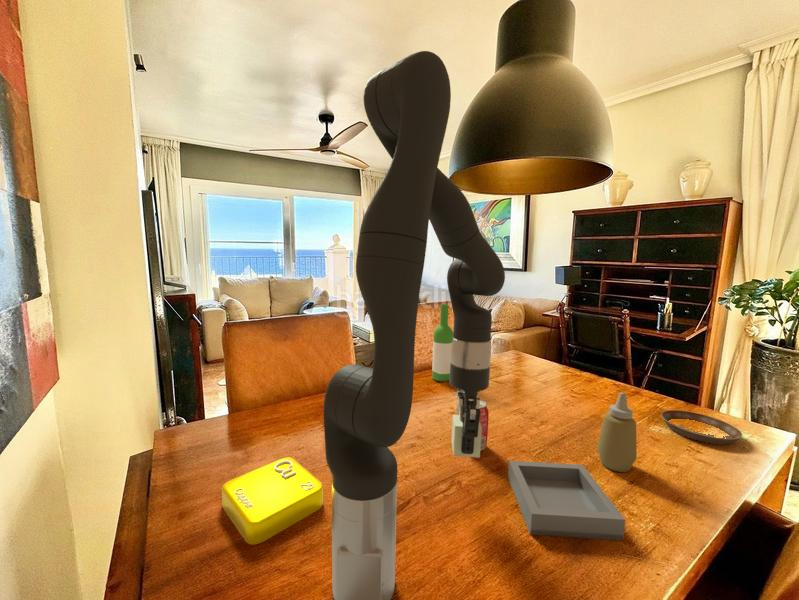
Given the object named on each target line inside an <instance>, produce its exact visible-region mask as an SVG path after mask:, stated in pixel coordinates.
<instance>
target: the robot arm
mask: <svg viewBox="0 0 799 600" xmlns="http://www.w3.org/2000/svg"><path fill="white" fill-rule="evenodd" d="M450 81H451V80H450V76H449V73H448V70H447V67H446V65H445V64H444V62H443V60H442V58H441V57H440V56H439V55H438V54H436V53H434V52H432V51H428V50H421V51H420V50H419V51H418V52H414V53H411V54H408V55H406V56H404V57H403V58H401V59H400V60H398V61H396V62H395V63H393V64H391V65H389V66H387V67H385V68H384V69H382V70H380V71H378V72H377V73H375V74H374V75H372V76H371V77H370V78H369V79H368V80H367V82H366V84H365V87H364V90H363V108H364V111H365V114H366V116H367V120H368V121H369V124H370V126H371V128H372V130H373V131H374V133H375V135H376V137H377V138H378V140H379V141H380V143H381V144H382V146H383V147H384V149H385V150H386V152H387V154H388V155H389V156H390V158H391V159H392V160H391V163H390V165H389V167H388V169H387V170H386V171H387V172H386V173H385V175H384V177H383V179H382V181H381V182H380V184H379V186H378V188H377V189H376V191H375V192H374V195H373V196H372V199H371V201H370V202H369V204H368V206H367V209H366V211H365V213H364V215H363V218H362V220H361V225H360V230H359V237H358V243H357V244H358V245H357V250H356V251H357V253H356V257H355V258H356V260H355V275H356V280H357V281H356V282H357V284H358V287H359V292H360V294H361V296H362V299H363V302H364V305H365V308H366V311H367V313H368V317H369V319H370V322H371V326H372V331H373V340H374V342H373V343H374V350H373V351H374V352H373V354H374V355H373V366H372V367H368V366H365V365H361V364H355V363H351V364H347V365H344V366H342V367H340V369H338V370H337V371H336V372H335V373H334V375H333V376H332V377H331V379H330V380H329V382H328V384H327V386H326V391H325V394H324V401H323V428H324V429H323V431H324V448H325V449H324V450H325V461H326V463H327V466H328V469H329V471H330V473H331V495H332V496H331V536H332V537H331V558H332V559H331V566H332V567H331V569H332V572H331V576H332V577H331V578H332V581H331V586H332V589H331V591H332V592H331V593H332V596H333V597H332V598H333V600H391V599H392V598H393V596H394V593H395V585H396V583H395V582H396V547H397V546H396V545H397V542H396V541H397V540H396V539H397V501H398V461H397V458H396V456H395V454H394V453H393V452H392V450H391V449H390V448H389V447H392V446H394V445H395V444H396V443H397V442H398V441H399V440H400V439H401V437H402V436H403V434H404V433H405V430H406V428H407V426H408V423H409V421H410V420H409V419H410V416H411V412H412V405H413V395H414V379H415V378H414V372H415V344H416V342H415V341H416V331H417V330H416V329H417V328H416V327H417V320H418V319H417V318H418V309H419V301H420V293H421V286H422V280H423V274H424V266H425V260H426V259H425V258H426V252H427V243H428V232H429V224H431V227H432V228H433V231H434V233H435V235H436V237H437V239H438V242H439V244H440V247H441V248H442V250H443V252H444V254H446V255H447V256H448V257H450V258H453V259H454V260H453V261H452V262H451V264H449V267H448V270H447V274H446V284H447V290H448V294H449V298H450V299H449V300H450V304H451V309H452V313H453V329H452V331H453V342H452V347H451V361H450V380H449V381H448V382H449V385H451V386H452V387H453V388H454V389H455V388H456V389H457V391H456V400H457V402H456V411H457V413H458V414H457V415H459V419H460V421H461V422H462V430H461V433H462V445H461V451H462V453H463V454H473V450H474V437H477V436H478V427H479V419H480V414H481V411H480V409H479V406H480V399H481V398H480V397H479V395H478V394H479V392H482V391H485V390H487V389H488V388H489V387H490V377H491V376H490V375H491V360H492V359H491V358H492V348H491V347H492V346H491V339H492V322H493V321H492V317H493V316H492V313H491V311H490V310H489V309H486V308H484V307H482V306H480V305H478V304H477V302H476V301H475V298H474V297H475V296H482V297H492V296H494V295H497V294H498V293H499V292H501V290H502V289H503V287H504V284H505V281H506V272H505V268H504V265H503V263H502V261H501V259H500V257H499V255H497V253H496V252H495V250H494V249H493V248H492V246H491V244H490V243H489V242H488V241H487V239H486V238H485V237H484V236H483V235H482V233H481V231H480V228H479V225H478V223H477V220H476V217H475V215H474V211H473V209H472V207H471V205H470V202H469V200H468V199H467V197H466V195H465V194H464V193H463V191H462V190H461V189H460V188H459V187H458V186H457V185H456V184H455V183H454V182H453V181H452V180H451V179H450V178H449V177H448V176H447V175H446V174H445V173H443V172H442V170H441V169H440V168H439V167H438V165H439V161H440V156H441V154H442V153H441V152H442V149H443V143H444V139H445V136H446V135H445V134H446V131H447V127H448V122H449V117H450V112H451V103H452V102H451V99H452V98H451V97H452V92H451V91H452V90H451V82H450ZM429 222H430V223H429ZM463 415H465V417H463ZM468 427H472V429H467V428H468Z"/></svg>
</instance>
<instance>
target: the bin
mask: <svg viewBox="0 0 799 600" xmlns="http://www.w3.org/2000/svg"><path fill="white" fill-rule="evenodd" d="M507 478H508V482H509V484H510V486H511V490H512V491H513V493H514V496H515V498H516V499H515V500H516V502H517V504H518V507H519V509H520V512H521V514H522V517H523V519H524V522H525V525H526V528H527V530H528V532H529V534H530V535H535V536H550V537H551V536H552V537H554V536H555V537H565V538H566V537H570V538H582V539H596V540H597V539H598V540H613V541H624V536H625V535H624V533H625V527H626V518H625V517H624V516H623V514H622V513H621V512H620V511H619V509H618V508H617V507H616V506H615V504H614V503H613V502H612V500H611V499H610V498H609V497H608V495H607V494H606V493H605V491H604V490H603V489H602V488H601V486H600V485H599V483H598V482H597V481H596V480H595V479H594V478H593V476H592V474H591V473H590V472H589V470H588V469H587V468H586V467H585V466H584V464H579V463H577V464H575V463H574V464H573V463H558V462H557V463H556V462H540V461H519V460H508V470H507Z"/></svg>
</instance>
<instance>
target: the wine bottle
mask: <svg viewBox="0 0 799 600" xmlns="http://www.w3.org/2000/svg"><path fill="white" fill-rule="evenodd" d="M439 320H440V321H439V324H438V326H436V328H435V329H434V331H433V342H432V343H433V344H432V346H433V347H432V364H431V365H432V366H431V367H432V369H431V371H432V373H431V376H432V379H433V380H434V381H437V382H440V383H441V382H450V381H449V380H450V361H451V347H452V342H453V329H452V328H451V326H450V325H449V304H446V303H444V304H443V303H442V304H441V305H440V319H439Z"/></svg>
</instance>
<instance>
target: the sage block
mask: <svg viewBox="0 0 799 600" xmlns="http://www.w3.org/2000/svg"><path fill="white" fill-rule="evenodd" d="M463 417H465V415H463ZM451 422H452V423H451V440H450V441H451V442H450V443H451V448H452V454H453V455H452V456H454V457H463V458H464V457H465V458H481V451H480V449H481V434H482V427H481V424H480V421H479V427H478V436H477V437H474V450H473V454H463V453H462V451H461V445H462V433H461V430H462V422H461V421H460V419H459V415H458V414H452V421H451ZM467 429H472V427H468V428H467Z"/></svg>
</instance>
